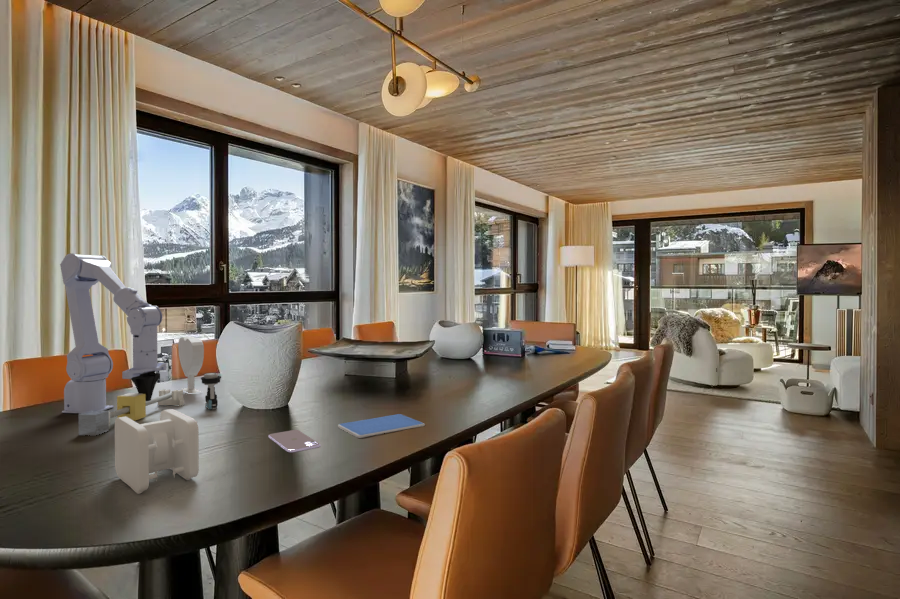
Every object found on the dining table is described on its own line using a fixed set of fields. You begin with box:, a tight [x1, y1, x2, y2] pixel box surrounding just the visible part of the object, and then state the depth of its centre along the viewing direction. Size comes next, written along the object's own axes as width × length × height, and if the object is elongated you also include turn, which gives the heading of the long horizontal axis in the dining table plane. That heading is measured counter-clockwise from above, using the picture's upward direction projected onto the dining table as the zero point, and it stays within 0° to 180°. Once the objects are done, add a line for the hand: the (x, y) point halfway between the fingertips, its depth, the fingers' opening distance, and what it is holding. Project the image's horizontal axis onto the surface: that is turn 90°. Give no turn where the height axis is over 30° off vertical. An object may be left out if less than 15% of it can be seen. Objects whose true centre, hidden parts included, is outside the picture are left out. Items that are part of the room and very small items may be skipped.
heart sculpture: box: [177, 336, 205, 393], centre depth 171 cm, size 16×5×18 cm, turn 43°
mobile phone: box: [268, 429, 321, 453], centre depth 118 cm, size 8×1×15 cm
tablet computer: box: [337, 413, 426, 439], centre depth 132 cm, size 19×13×1 cm, turn 128°
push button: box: [200, 372, 222, 410], centre depth 148 cm, size 7×5×10 cm
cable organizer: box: [114, 408, 200, 495], centre depth 95 cm, size 15×11×12 cm
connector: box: [77, 410, 111, 437], centre depth 124 cm, size 4×5×5 cm
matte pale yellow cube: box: [116, 392, 147, 422], centre depth 135 cm, size 5×4×6 cm
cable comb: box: [157, 388, 185, 407], centre depth 151 cm, size 7×2×4 cm, turn 84°
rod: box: [110, 391, 172, 419], centre depth 139 cm, size 1×27×1 cm, turn 174°
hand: (145, 400), depth 139 cm, fingers closed
